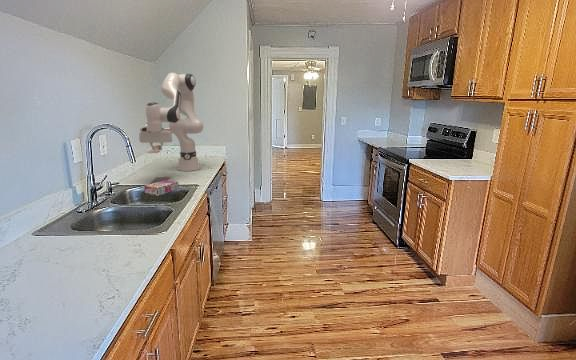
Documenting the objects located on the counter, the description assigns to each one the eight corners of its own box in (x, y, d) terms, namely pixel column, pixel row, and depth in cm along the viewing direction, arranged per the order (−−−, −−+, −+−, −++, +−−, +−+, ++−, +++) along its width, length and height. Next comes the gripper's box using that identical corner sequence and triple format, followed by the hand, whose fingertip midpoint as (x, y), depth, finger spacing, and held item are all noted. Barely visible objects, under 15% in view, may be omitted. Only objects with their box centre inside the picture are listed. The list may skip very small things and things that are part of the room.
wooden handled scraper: (155, 149, 224) (154, 145, 224) (164, 149, 225) (163, 145, 224) (147, 153, 208) (146, 148, 207) (157, 153, 209) (156, 148, 208)
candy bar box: (178, 181, 205) (157, 188, 191) (179, 189, 206) (158, 196, 192) (165, 179, 210) (143, 185, 196) (166, 186, 211) (144, 193, 197)
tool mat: (156, 178, 233) (156, 177, 233) (170, 177, 235) (170, 176, 234) (147, 187, 210) (146, 186, 210) (163, 186, 212) (163, 185, 211)
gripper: (172, 127, 220) (174, 148, 223) (140, 127, 217) (142, 148, 221) (170, 128, 214) (172, 149, 217) (137, 128, 211) (139, 150, 214)
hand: (157, 149), depth 219 cm, fingers closed on wooden handled scraper, 3 cm apart
